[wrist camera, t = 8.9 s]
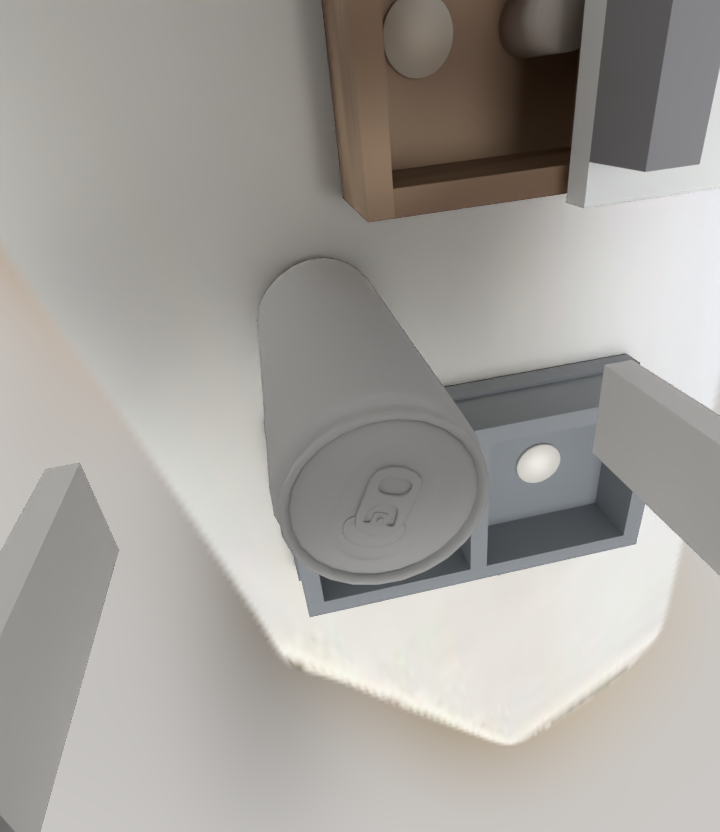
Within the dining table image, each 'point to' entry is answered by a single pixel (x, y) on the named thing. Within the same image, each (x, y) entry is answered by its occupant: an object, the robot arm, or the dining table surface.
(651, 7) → the lid
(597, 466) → the socket board
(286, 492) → the beverage can
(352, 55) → the tray
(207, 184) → the dining table surface
